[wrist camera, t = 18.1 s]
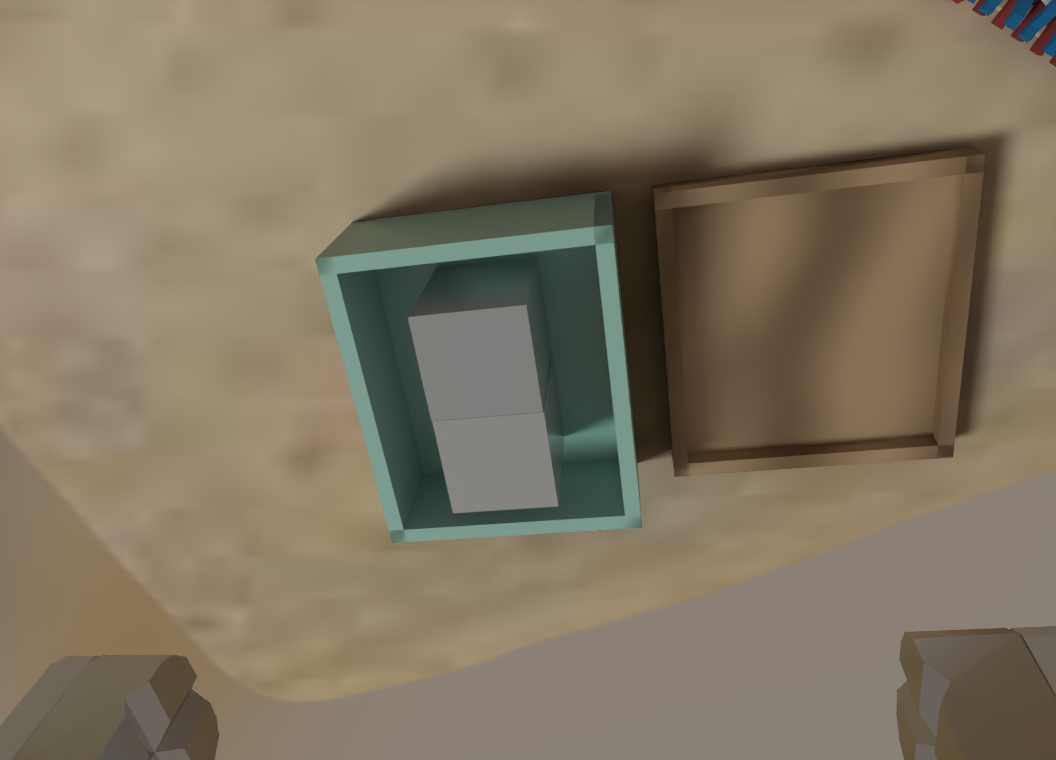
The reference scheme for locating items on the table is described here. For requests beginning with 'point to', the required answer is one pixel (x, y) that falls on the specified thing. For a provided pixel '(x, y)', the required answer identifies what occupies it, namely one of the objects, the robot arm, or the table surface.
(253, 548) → the table surface
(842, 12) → the table surface
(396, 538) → the bin
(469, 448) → the slate block
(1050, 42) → the woven mat
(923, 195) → the tray
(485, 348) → the slate block
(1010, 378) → the table surface
